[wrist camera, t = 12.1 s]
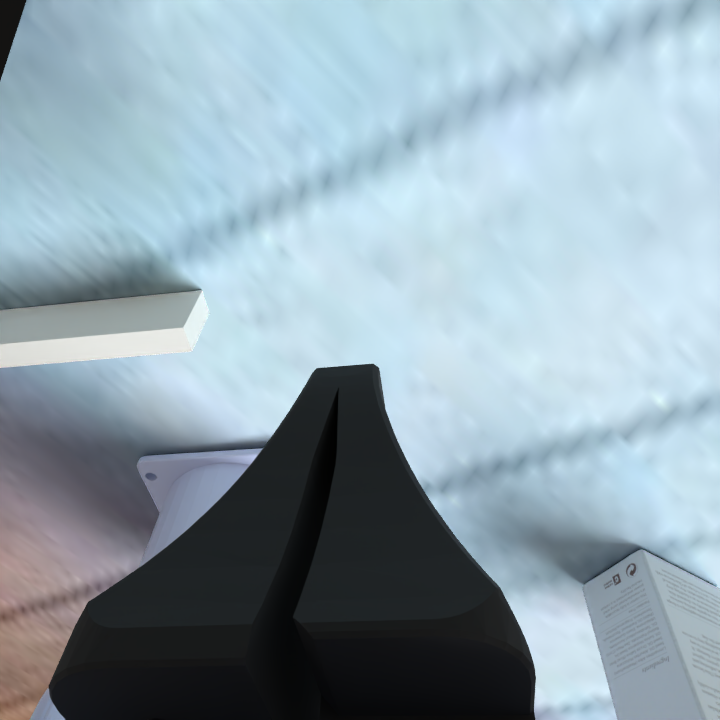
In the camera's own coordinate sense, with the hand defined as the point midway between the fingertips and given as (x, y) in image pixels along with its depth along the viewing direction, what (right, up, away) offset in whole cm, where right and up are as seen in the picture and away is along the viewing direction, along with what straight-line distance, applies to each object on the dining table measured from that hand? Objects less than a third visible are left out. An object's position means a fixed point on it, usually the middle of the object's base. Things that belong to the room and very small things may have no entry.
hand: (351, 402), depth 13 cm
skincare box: (+15, -11, +19) cm, 27 cm away
